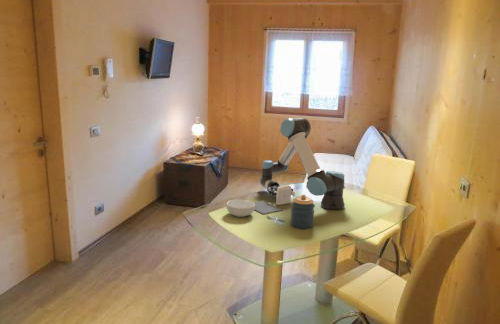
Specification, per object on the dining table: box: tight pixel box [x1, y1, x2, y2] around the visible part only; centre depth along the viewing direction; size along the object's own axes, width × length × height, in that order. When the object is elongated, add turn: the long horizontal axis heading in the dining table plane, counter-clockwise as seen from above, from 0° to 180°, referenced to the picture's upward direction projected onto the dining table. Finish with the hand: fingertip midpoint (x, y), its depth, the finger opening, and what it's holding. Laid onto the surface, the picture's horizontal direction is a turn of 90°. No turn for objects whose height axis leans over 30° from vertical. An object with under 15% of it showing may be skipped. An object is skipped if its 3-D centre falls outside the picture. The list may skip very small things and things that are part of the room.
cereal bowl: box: [226, 199, 255, 218], centre depth 228 cm, size 17×17×7 cm
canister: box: [289, 194, 315, 230], centre depth 215 cm, size 13×13×18 cm
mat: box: [253, 200, 283, 215], centre depth 243 cm, size 20×15×1 cm
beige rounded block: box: [275, 184, 292, 206], centre depth 252 cm, size 10×4×12 cm, turn 123°
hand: (286, 195), depth 248 cm, fingers closed on beige rounded block, 10 cm apart
